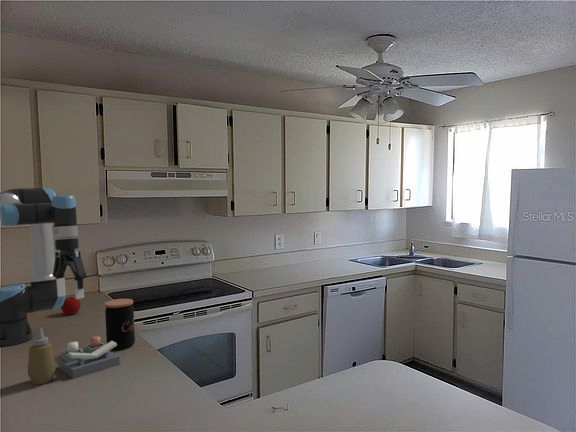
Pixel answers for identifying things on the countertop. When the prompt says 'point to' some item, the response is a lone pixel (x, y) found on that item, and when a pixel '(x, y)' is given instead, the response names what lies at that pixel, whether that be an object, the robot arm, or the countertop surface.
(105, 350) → the block
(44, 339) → the squeeze bottle
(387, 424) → the countertop surface
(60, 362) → the panel
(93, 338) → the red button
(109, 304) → the coffee jar
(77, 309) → the apple
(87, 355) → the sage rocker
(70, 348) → the ivory button
